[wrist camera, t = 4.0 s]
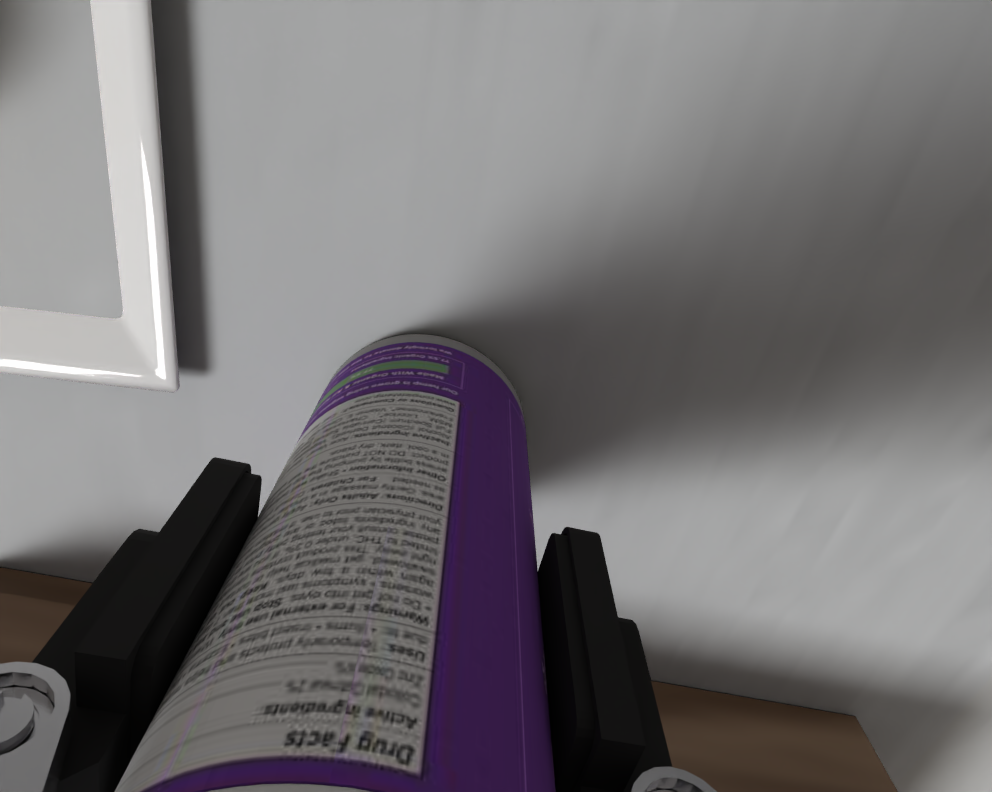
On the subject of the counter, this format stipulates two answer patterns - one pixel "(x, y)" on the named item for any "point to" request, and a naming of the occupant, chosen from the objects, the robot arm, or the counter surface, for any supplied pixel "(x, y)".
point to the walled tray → (683, 711)
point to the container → (376, 602)
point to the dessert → (116, 233)
